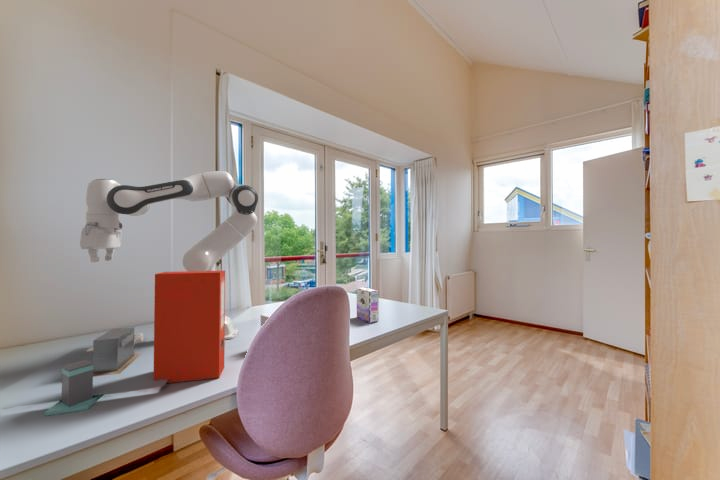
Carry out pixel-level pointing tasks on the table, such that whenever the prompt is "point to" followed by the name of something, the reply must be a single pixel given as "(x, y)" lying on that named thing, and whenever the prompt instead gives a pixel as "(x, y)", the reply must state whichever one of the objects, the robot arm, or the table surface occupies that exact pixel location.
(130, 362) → the board
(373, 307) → the candy box
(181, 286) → the file binder
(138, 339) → the white brass knuckles
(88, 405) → the pad
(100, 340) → the panel
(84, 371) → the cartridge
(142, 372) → the table surface
